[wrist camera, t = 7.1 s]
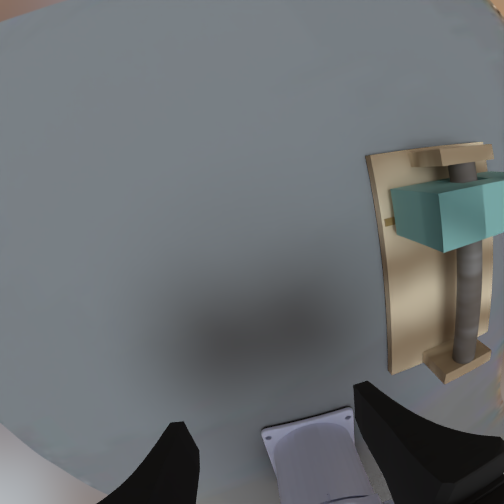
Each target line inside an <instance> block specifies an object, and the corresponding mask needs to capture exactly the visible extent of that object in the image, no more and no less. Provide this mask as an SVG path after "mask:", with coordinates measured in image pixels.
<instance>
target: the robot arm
mask: <svg viewBox="0 0 504 504" xmlns="http://www.w3.org/2000/svg"><path fill="white" fill-rule="evenodd" d="M353 388H354V404H355V418H356V421H357V424H358V427H359V429H360V432H361V434H362V437H363V439H364V440H365V442H366V444H367V446H368V448H369V450H370V451H371V453H372V455H373V457H374V459H375V461H376V462H377V464H378V466H379V468H380V470H381V471H382V473H383V476H384V478H385V480H386V482H387V485H388V487H389V490H390V493H391V495H392V498H393V500H387V501H385V502H383V504H504V474H503V473H504V440H503V439H502V438H501V437H496V436H484V435H476V434H470V433H465V432H461V431H457V430H454V429H450V428H447V427H444V426H441V425H439V424H436V423H434V422H431V421H429V420H427V419H425V418H423V417H421V416H419V415H417V414H415V413H413V412H411V411H410V410H408V409H406V408H405V407H403V406H402V405H400V404H398V403H397V402H395V401H394V400H392V399H391V398H390V397H388V396H387V395H385V394H384V393H383V392H381V391H380V390H379V389H378V388H376V387H375V386H374V385H372V384H371V383H370V382H368V381H365V382H362V383H359V384H355V385H353ZM346 416H348V417H346ZM261 434H262V438H263V441H264V444H265V447H266V449H267V452H268V455H269V458H270V461H271V463H272V466H273V469H274V472H275V474H276V477H277V483H278V490H279V497H280V503H281V504H382V502H381V500H380V497H379V495H378V493H376V494H375V493H374V490H373V488H372V486H371V483H370V481H369V479H368V476H367V474H366V471H365V469H364V467H363V464H362V462H361V460H360V457H359V455H358V453H357V450H356V448H355V442H354V418H353V410H352V408H350V407H347V408H344V409H340V410H337V411H334V412H330V413H327V414H323V415H320V416H316V417H312V418H308V419H305V420H301V421H296V422H292V423H288V424H284V425H279V426H274V427H270V428H265V429H263V430H262V431H261ZM267 436H270V437H267ZM199 472H200V458H199V449H198V447H197V446H196V444H195V442H194V440H193V438H192V436H191V435H190V433H189V431H188V429H187V427H186V425H185V423H184V421H182V422H173V423H170V424H169V425H168V427H167V428H166V430H165V431H164V433H163V434H162V436H161V437H160V439H159V440H158V441H157V443H156V444H155V446H154V447H153V448H152V450H151V451H150V453H149V454H148V455H147V457H146V458H145V459H144V461H143V462H142V463H141V464H140V465H139V467H138V468H137V469H136V470H135V471H134V472H133V474H132V475H131V476H130V477H129V478H128V479H127V480H126V481H125V482H124V483H123V484H121V485H120V486H119V487H118V488H117V489H116V490H114V491H113V492H112V493H111V494H109V495H108V496H107V497H106V498H104V499H103V500H101V501H100V502H98V503H97V504H196V496H197V489H198V480H199Z"/></svg>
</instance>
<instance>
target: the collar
mask: <svg viewBox="0 0 504 504" xmlns="http://www.w3.org/2000/svg"><path fill="white" fill-rule="evenodd" d="M390 191H391V197H392V203H393V210H394V217H395V225H396V233H397V235H399V236H402V237H404V238H407V239H410V240H412V241H415V242H417V243H420V244H423V245H425V246H428V247H430V248H433V249H435V250H438V251H441V252H443V253H445V252H448V251H451V250H454V249H457V248H460V247H463V246H466V245H469V244H472V243H475V242H477V241H480V240H483V239H486V238H489V237H492V236H495V235H497V234H500V233H503V232H504V172H481V173H477V181H472V182H466V183H451V182H450V178H447V179H441V180H436V181H430V182H425V183H420V184H414V185H409V186H404V187H399V188H394V189H390Z"/></svg>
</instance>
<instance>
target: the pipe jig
mask: <svg viewBox="0 0 504 504" xmlns="http://www.w3.org/2000/svg"><path fill="white" fill-rule="evenodd" d="M365 157H366V162H367V167H368V172H369V177H370V182H371V188H372V193H373V199H374V205H375V211H376V218H377V225H378V232H379V239H380V247H381V256H382V265H383V275H384V286H385V299H386V315H387V338H388V371H389V372H390V373H391V375H394V374H396V373H399V372H401V371H404V370H406V369H409V368H411V367H414V366H416V365H419V364H421V363H423V362H424V363H425V364H426V365H427V366H428V368H429V369H430V370H431V371H432V372H433V373H434V374H435V375H436V376H437V377H438V378H439V379H440V380H441V381H442V382H443V384H446V383H448V382H450V381H452V380H454V379H456V378H458V377H460V376H462V375H464V374H466V373H468V372H470V371H471V370H473V369H475V368H477V367H478V366H480V365H482V364H484V363H485V362H487V361H489V360H490V356H491V349H489V348H488V347H487V346H485V345H484V344H483V343H481V342H480V341H479V340H477V337H478V336H480V335H482V334H484V333H486V332H487V331H488V324H489V315H490V305H491V292H492V273H493V236H492V237H489V238H486V239H483V240H480V241H477V242H475V243H472V244H469V245H466V246H463V247H460V248H457V249H454V250H451V251H448V252H445V253H443V252H441V251H438V250H435V249H433V248H430V247H428V246H425V245H423V244H420V243H417V242H415V241H412V240H410V239H407V238H404V237H402V236H399V235H397V233H396V225H395V217H394V210H393V203H392V197H391V191H390V189H394V188H399V187H404V186H409V185H414V184H420V183H425V182H430V181H436V180H441V179H447V178H450V182H451V183H466V182H472V181H477V173H481V172H488V171H487V164H486V160H491V159H494V156H493V150H492V144H485V145H483V142H475V143H464V144H453V145H444V146H434V147H426V148H418V149H410V150H402V151H395V152H388V153H381V154H375V155H368V156H365Z"/></svg>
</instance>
